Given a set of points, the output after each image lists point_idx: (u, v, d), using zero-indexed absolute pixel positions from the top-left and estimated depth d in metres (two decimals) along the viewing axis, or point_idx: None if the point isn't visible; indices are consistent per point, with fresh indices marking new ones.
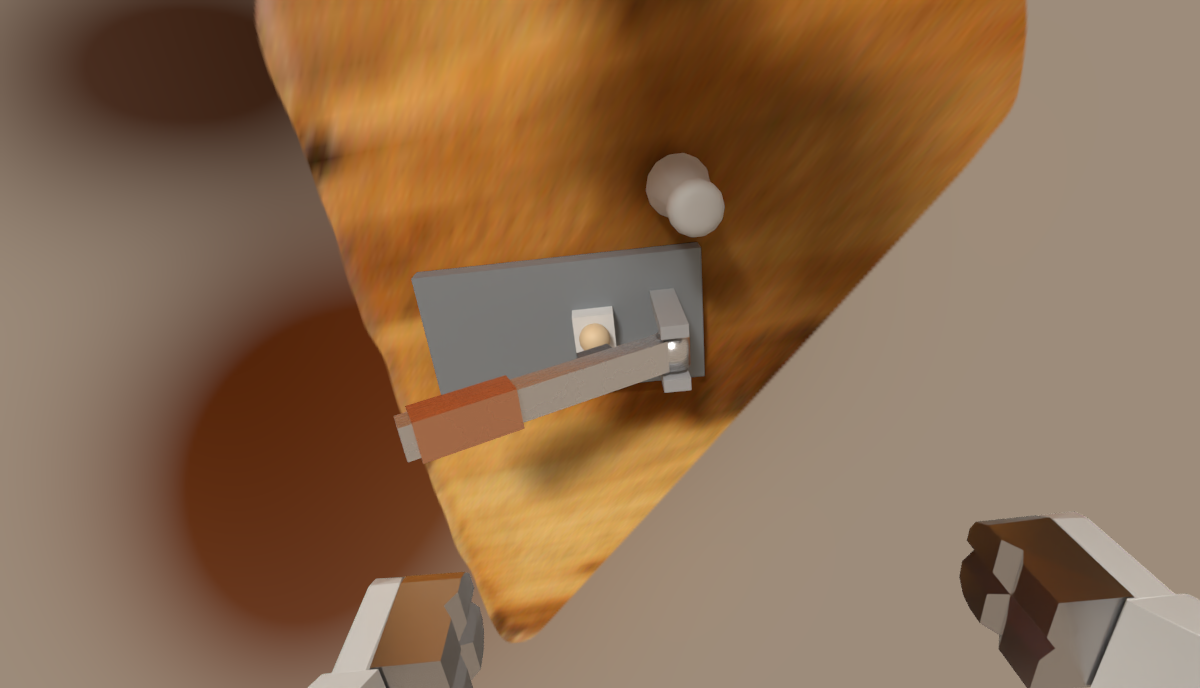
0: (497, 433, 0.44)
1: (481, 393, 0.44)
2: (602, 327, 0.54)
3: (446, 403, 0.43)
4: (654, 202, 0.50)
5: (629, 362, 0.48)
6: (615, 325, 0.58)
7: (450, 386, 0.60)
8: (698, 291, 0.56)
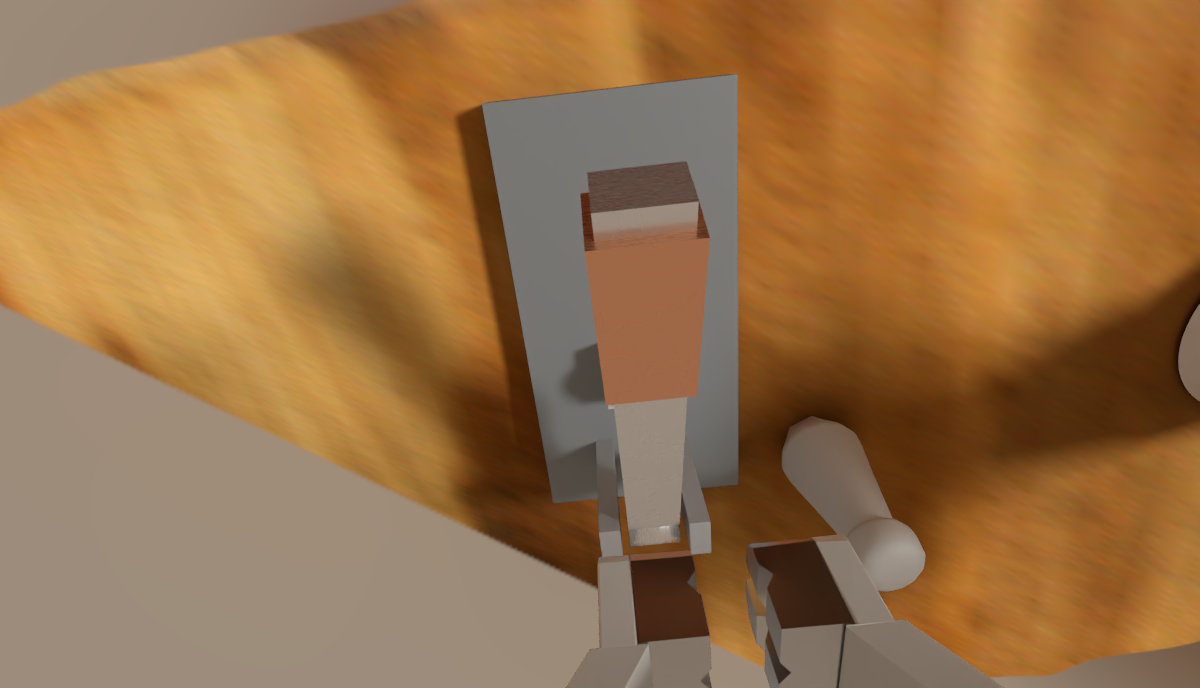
0: (612, 372, 0.21)
1: None
2: None
3: None
4: (824, 448, 0.39)
5: (666, 498, 0.30)
6: None
7: (519, 123, 0.32)
8: None
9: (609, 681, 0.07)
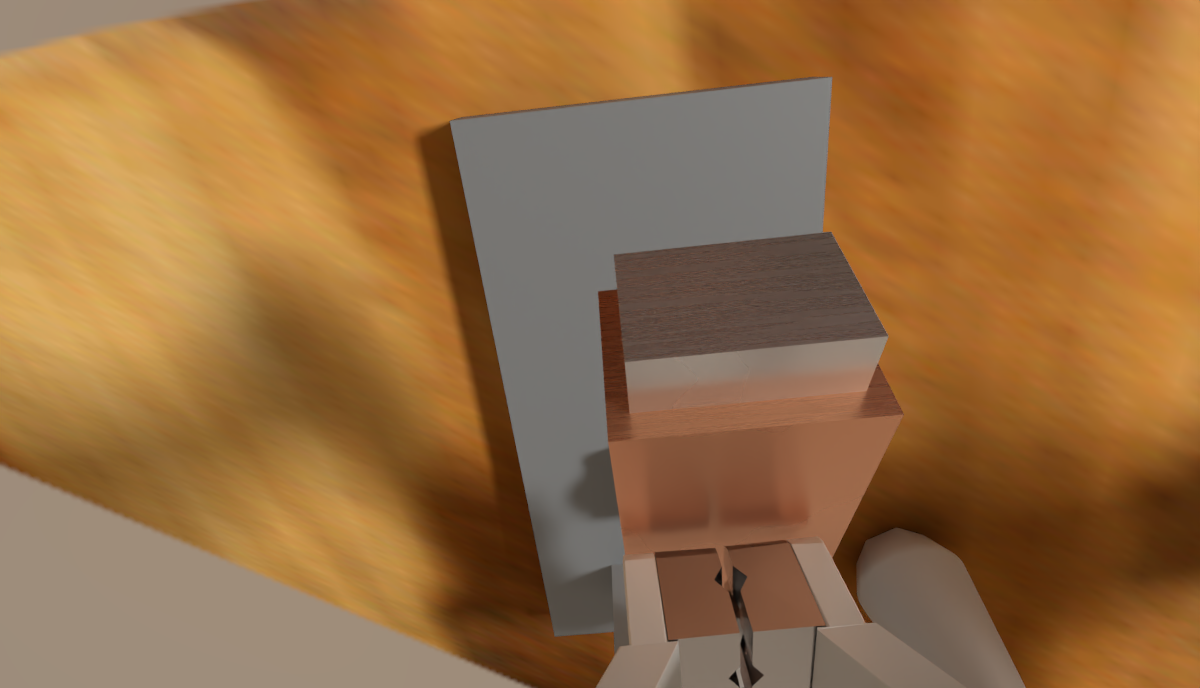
0: None
1: None
2: None
3: None
4: (924, 588, 0.28)
5: None
6: None
7: (505, 149, 0.21)
8: None
9: (641, 678, 0.07)
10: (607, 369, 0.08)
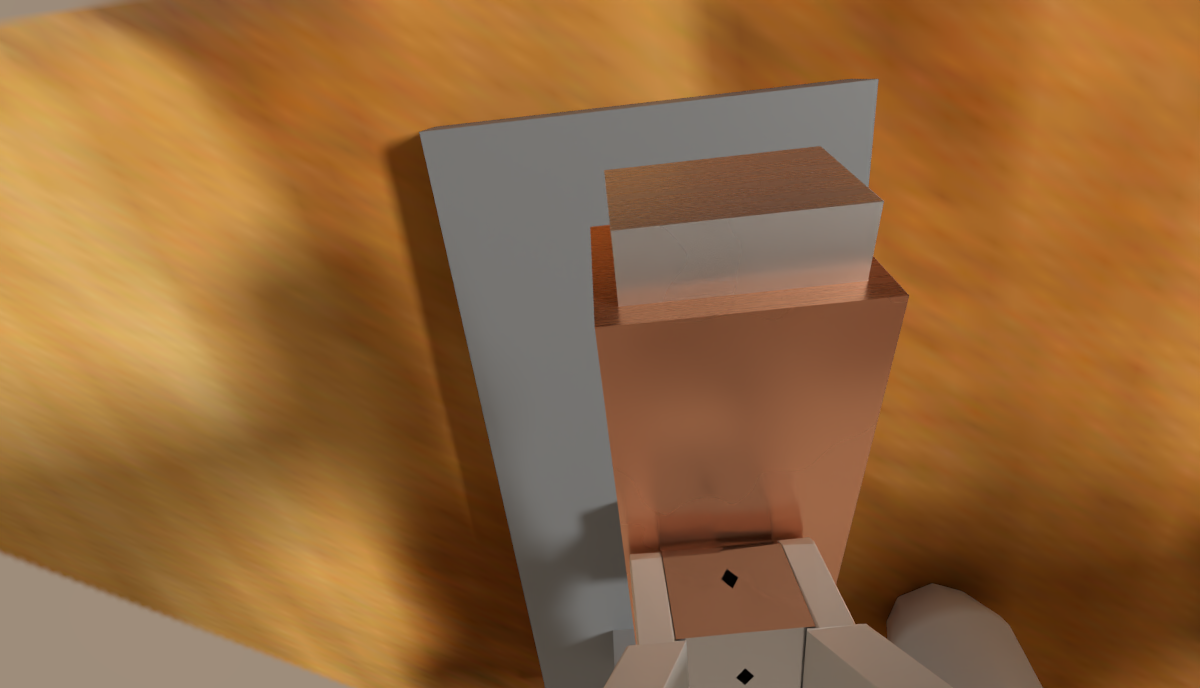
0: None
1: None
2: None
3: None
4: (970, 661, 0.25)
5: None
6: None
7: (486, 165, 0.18)
8: None
9: (649, 677, 0.07)
10: (596, 276, 0.08)
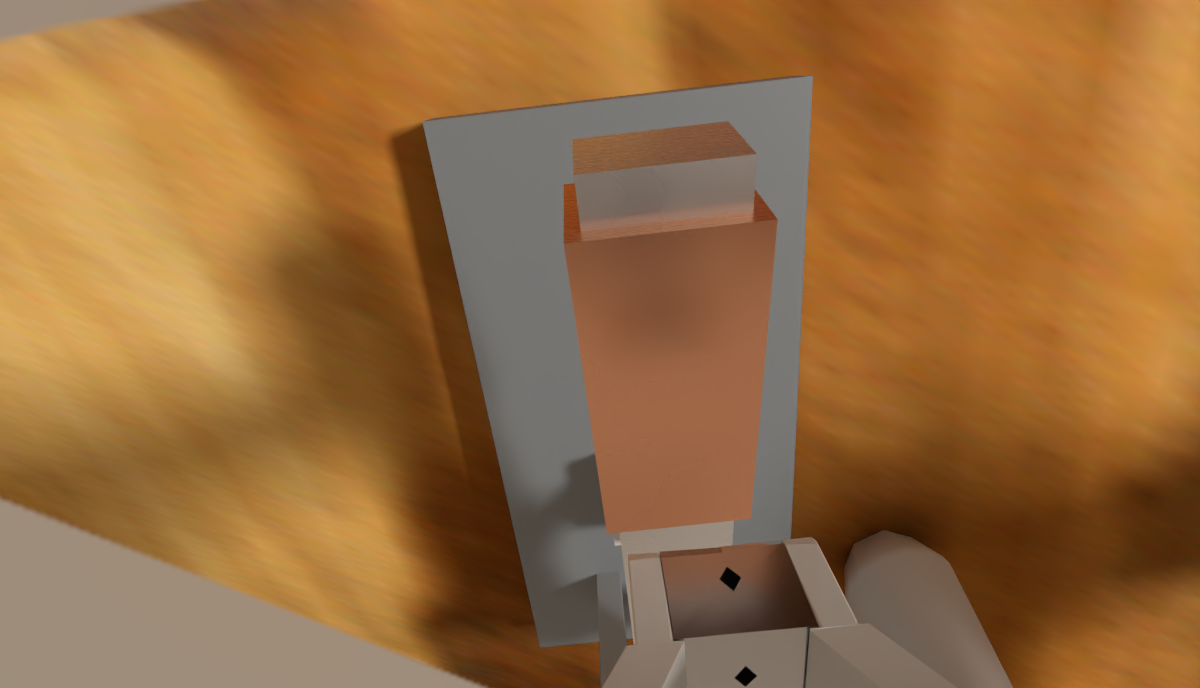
0: (616, 474, 0.13)
1: None
2: None
3: None
4: (912, 591, 0.28)
5: None
6: None
7: (480, 150, 0.21)
8: None
9: (647, 678, 0.07)
10: (566, 214, 0.10)
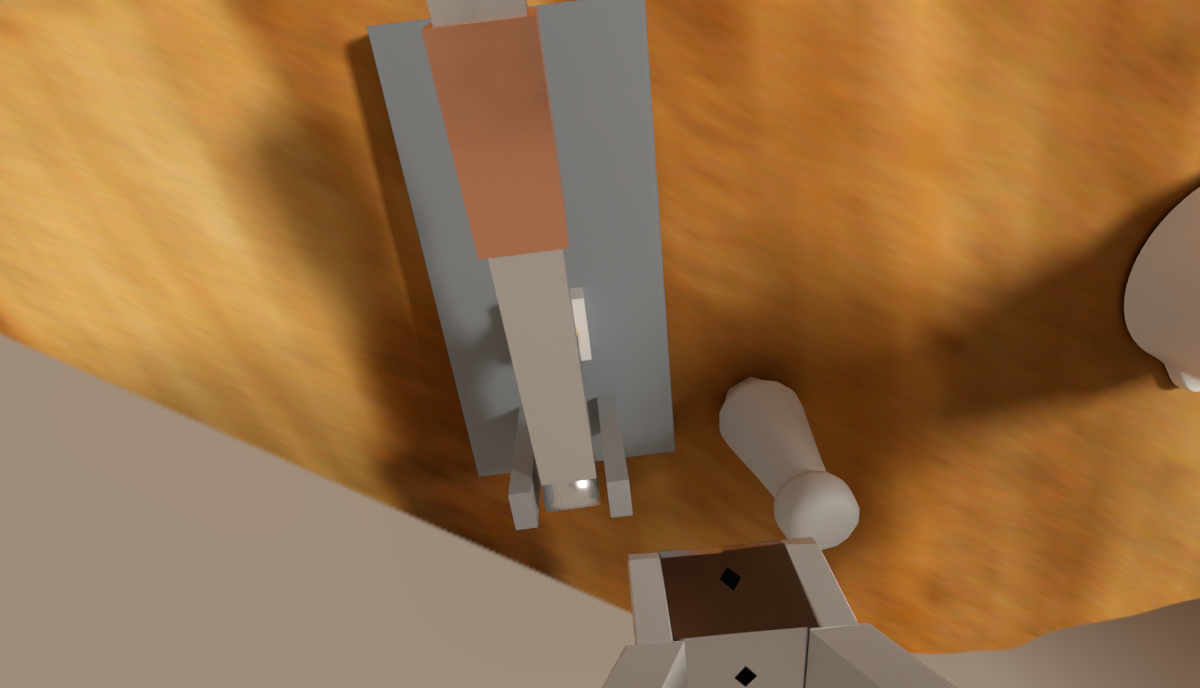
0: (476, 206, 0.21)
1: (559, 176, 0.22)
2: None
3: (549, 101, 0.20)
4: (759, 406, 0.36)
5: (573, 428, 0.29)
6: None
7: (409, 48, 0.29)
8: None
9: (647, 677, 0.07)
10: (428, 24, 0.19)
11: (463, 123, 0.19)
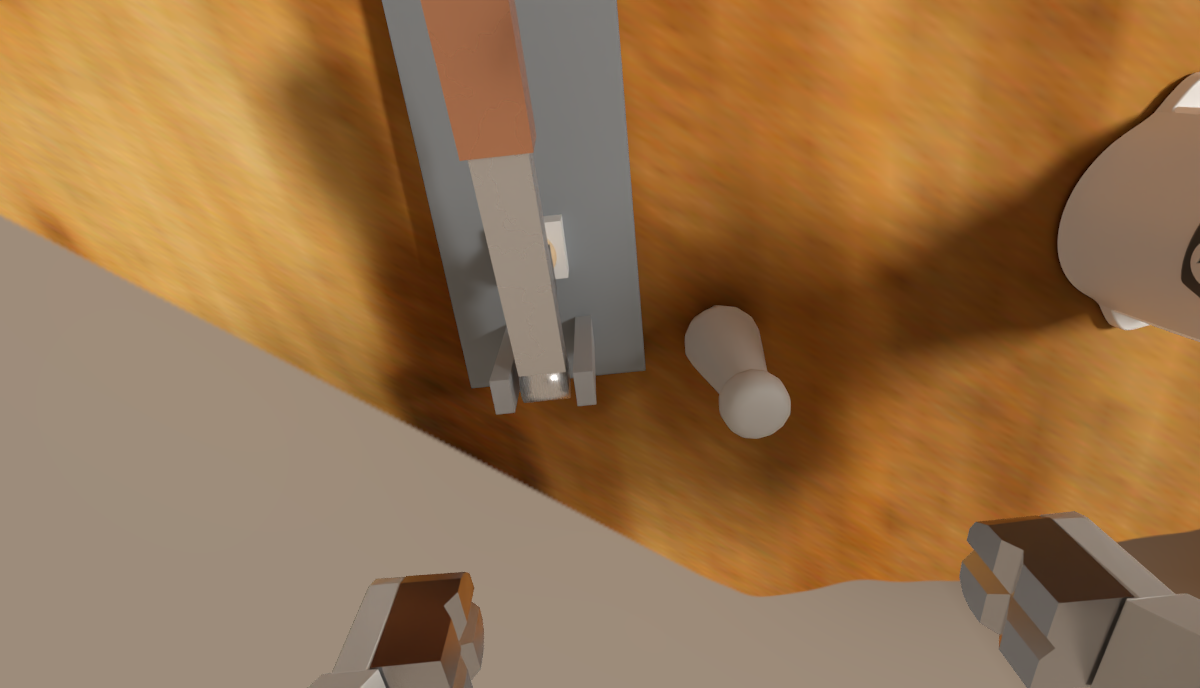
0: (457, 113, 0.26)
1: (525, 92, 0.27)
2: None
3: (515, 27, 0.25)
4: (716, 325, 0.41)
5: (543, 322, 0.34)
6: None
7: None
8: None
9: None
10: None
11: (445, 41, 0.24)
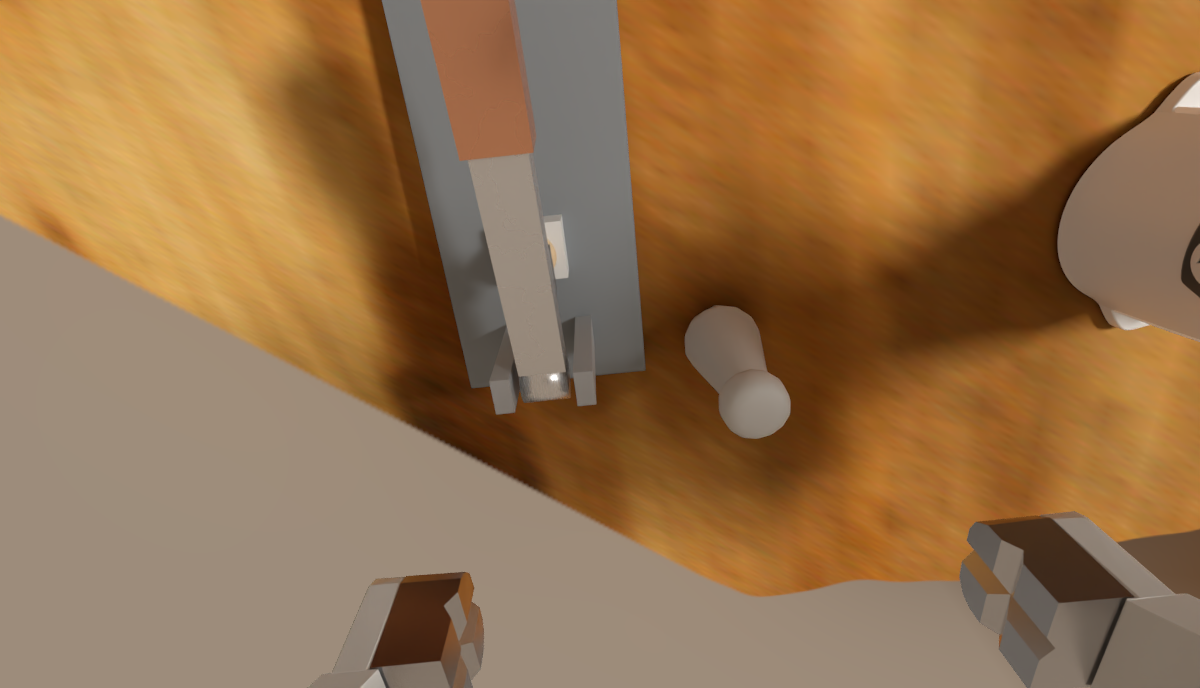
0: (457, 113, 0.26)
1: (525, 91, 0.27)
2: None
3: (515, 27, 0.25)
4: (716, 325, 0.41)
5: (543, 322, 0.34)
6: None
7: None
8: None
9: None
10: None
11: (445, 41, 0.24)
